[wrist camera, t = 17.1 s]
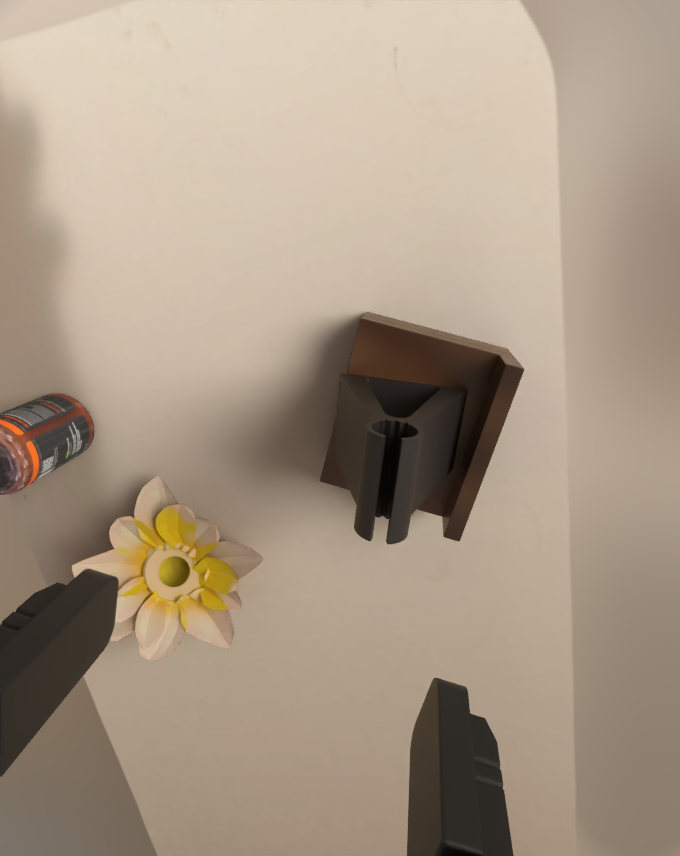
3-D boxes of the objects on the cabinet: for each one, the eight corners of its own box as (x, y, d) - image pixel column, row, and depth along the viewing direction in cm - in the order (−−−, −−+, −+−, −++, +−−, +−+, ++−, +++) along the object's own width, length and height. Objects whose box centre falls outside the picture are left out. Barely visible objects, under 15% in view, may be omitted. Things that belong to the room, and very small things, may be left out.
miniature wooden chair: (366, 311, 39) (354, 323, 33) (508, 348, 38) (525, 368, 32) (328, 461, 44) (311, 498, 37) (454, 497, 43) (459, 542, 36)
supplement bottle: (28, 395, 46) (-90, 437, 36) (86, 388, 45) (-18, 430, 34) (48, 456, 48) (-58, 514, 37) (105, 451, 47) (12, 510, 36)
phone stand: (467, 389, 36) (487, 452, 25) (452, 467, 38) (463, 558, 27) (341, 371, 37) (304, 424, 26) (333, 448, 39) (295, 528, 28)
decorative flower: (301, 569, 45) (243, 660, 37) (240, 618, 52) (179, 705, 43) (176, 454, 45) (88, 520, 37) (130, 518, 51) (47, 586, 43)
